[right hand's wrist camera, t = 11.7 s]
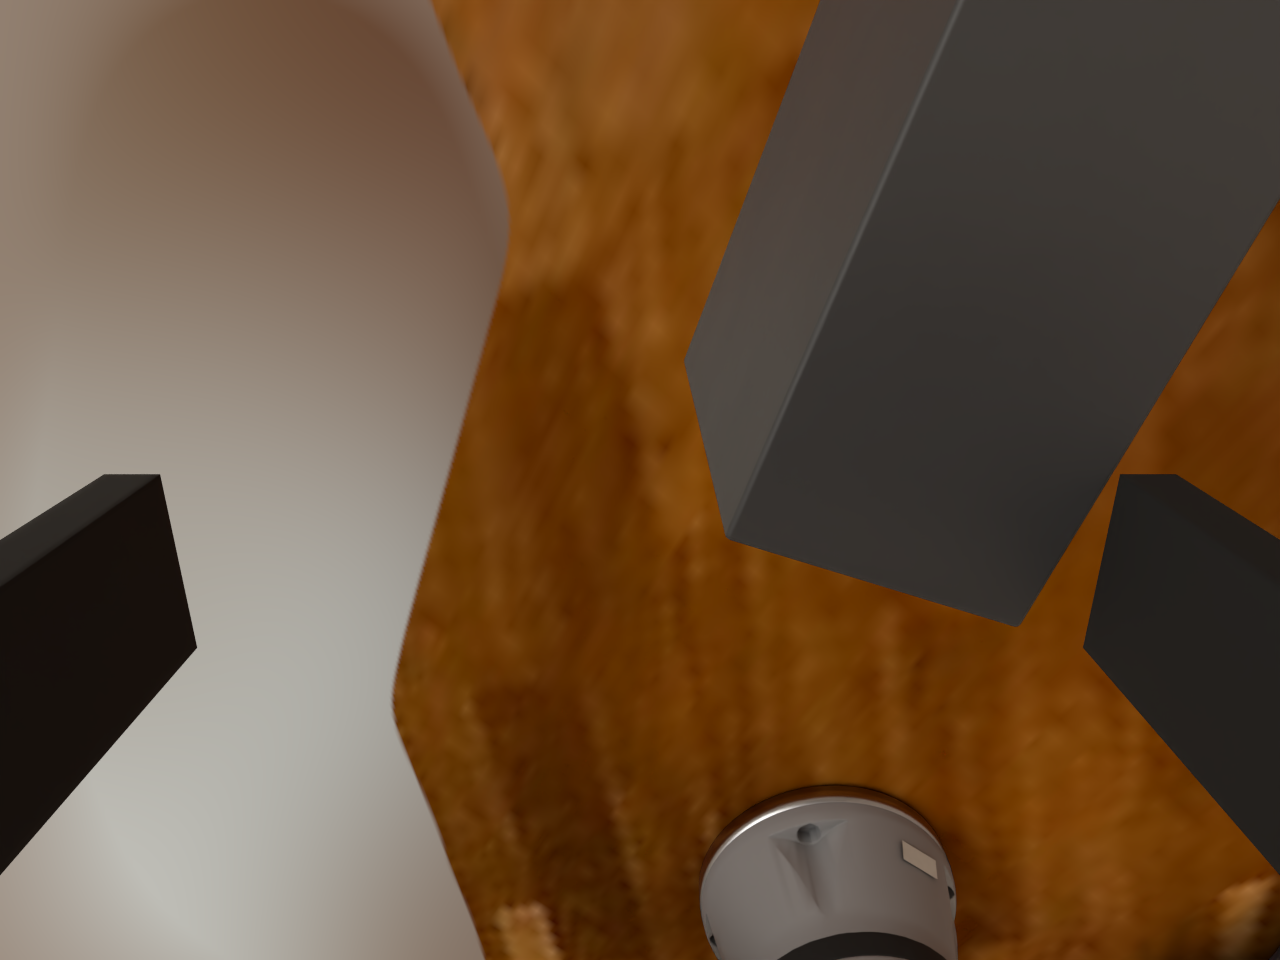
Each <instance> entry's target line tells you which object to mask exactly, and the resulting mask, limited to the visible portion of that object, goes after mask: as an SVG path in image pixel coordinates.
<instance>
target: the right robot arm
mask: <svg viewBox="0 0 1280 960" xmlns="http://www.w3.org/2000/svg"><path fill="white" fill-rule="evenodd" d="M196 648H197V645H196V641H195V636H194V631H193V626H192V622H191V617H190V612H189V608H188V603H187V598H186V594H185V589H184V584H183V580H182V575H181V570H180V566H179V561H178V556H177V552H176V547H175V542H174V538H173V533H172V528H171V524H170V519H169V514H168V510H167V505H166V500H165V495H164V491H163V486H162V481H161V477H160V474H104V475H102V476H101V477H99V478H98V479H96V480H95V481H93V482H91V483H90V484H88V485H87V486H85V487H83V488H82V489H80V490H79V491H77V492H75V493H74V494H72V495H71V496H69V497H68V498H66V499H64V500H63V501H61V502H60V503H58V504H57V505H55V506H53V507H52V508H50V509H49V510H47V511H45V512H44V513H42V514H41V515H39V516H38V517H36V518H34V519H33V520H31V521H30V522H28V523H26V524H25V525H23V526H22V527H20V528H19V529H17V530H15V531H14V532H12V533H11V534H9V535H8V536H6V537H4V538H3V539H1V540H0V875H1V874H2V872H3V871H4V870H5V869H6V868H7V867H8V866H9V864H10V863H11V862H12V861H13V860H14V859H15V857H16V856H17V855H18V854H19V853H20V852H21V851H22V849H23V848H24V847H25V846H26V845H27V844H28V842H29V841H30V840H31V839H32V838H33V837H34V835H35V834H36V833H37V832H38V831H39V830H40V829H41V827H42V826H43V825H44V824H45V823H46V822H47V820H48V819H49V818H50V817H51V816H52V815H53V814H54V812H55V811H56V810H57V809H58V808H59V807H60V805H61V804H62V803H63V802H64V801H65V800H66V799H67V797H68V796H69V795H70V794H71V793H72V792H73V790H74V789H75V788H76V787H77V786H78V785H79V783H80V782H81V781H82V780H83V779H84V778H85V777H86V775H87V774H88V773H89V772H90V771H91V770H92V768H93V767H94V766H95V765H96V764H97V763H98V762H99V760H100V759H101V758H102V757H103V756H104V755H105V753H106V752H107V751H108V750H109V749H110V748H111V747H112V745H113V744H114V743H115V742H116V741H117V740H118V738H119V737H120V736H121V735H122V734H123V733H124V731H125V730H126V729H127V728H128V727H129V726H130V725H131V723H132V722H133V721H134V720H135V719H136V718H137V716H138V715H139V714H140V713H141V712H142V711H143V710H144V708H145V707H146V706H147V705H148V704H149V703H150V701H151V700H152V699H153V698H154V697H155V696H156V694H157V693H158V692H159V691H160V690H161V689H162V688H163V686H164V685H165V684H166V683H167V682H168V681H169V680H170V678H171V677H172V676H173V675H174V674H175V673H176V671H177V670H178V669H179V668H180V667H181V666H182V664H183V663H184V662H185V661H186V660H187V659H188V658H189V656H190V655H191V654H192V653H193V652H194V651H195V649H196ZM1083 648H1084V649H1085V650H1086V651H1087V653H1088V654H1089V655H1090V656H1091V657H1092V658H1093V660H1094V661H1095V662H1096V663H1097V664H1098V665H1099V667H1100V668H1101V669H1102V670H1103V671H1104V672H1105V673H1106V675H1107V676H1108V677H1109V678H1110V679H1111V680H1112V682H1113V683H1114V684H1115V685H1116V686H1117V687H1118V688H1119V690H1120V691H1121V692H1122V693H1123V694H1124V695H1125V697H1126V698H1127V699H1128V700H1129V701H1130V702H1131V704H1132V705H1133V706H1134V707H1135V708H1136V709H1137V710H1138V712H1139V713H1140V714H1141V715H1142V716H1143V717H1144V719H1145V720H1146V721H1147V722H1148V723H1149V724H1150V725H1151V727H1152V728H1153V729H1154V730H1155V731H1156V732H1157V734H1158V735H1159V736H1160V737H1161V738H1162V739H1163V740H1164V742H1165V743H1166V744H1167V745H1168V746H1169V747H1170V749H1171V750H1172V751H1173V752H1174V753H1175V754H1176V756H1177V757H1178V758H1179V759H1180V760H1181V761H1182V762H1183V764H1184V765H1185V766H1186V767H1187V768H1188V769H1189V771H1190V772H1191V773H1192V774H1193V775H1194V776H1195V777H1196V779H1197V780H1198V781H1199V782H1200V783H1201V784H1202V786H1203V787H1204V788H1205V789H1206V790H1207V791H1208V793H1209V794H1210V795H1211V796H1212V797H1213V798H1214V799H1215V801H1216V802H1217V803H1218V804H1219V805H1220V806H1221V808H1222V809H1223V810H1224V811H1225V812H1226V813H1227V814H1228V816H1229V817H1230V818H1231V819H1232V820H1233V821H1234V823H1235V824H1236V825H1237V826H1238V827H1239V828H1240V829H1241V831H1242V832H1243V833H1244V834H1245V835H1246V836H1247V838H1248V839H1249V840H1250V841H1251V842H1252V843H1253V845H1254V846H1255V847H1256V848H1257V849H1258V850H1259V851H1260V853H1261V854H1262V855H1263V856H1264V857H1265V858H1266V860H1267V861H1268V862H1269V863H1270V864H1271V865H1272V866H1273V868H1274V869H1275V870H1276V871H1277V872H1278V873H1279V875H1280V540H1279V539H1278V538H1276V537H1274V536H1273V535H1271V534H1270V533H1268V532H1266V531H1265V530H1263V529H1262V528H1260V527H1259V526H1257V525H1255V524H1254V523H1252V522H1251V521H1249V520H1247V519H1246V518H1244V517H1243V516H1241V515H1240V514H1238V513H1236V512H1235V511H1233V510H1232V509H1230V508H1229V507H1227V506H1225V505H1224V504H1222V503H1221V502H1219V501H1217V500H1216V499H1214V498H1213V497H1211V496H1210V495H1208V494H1206V493H1205V492H1203V491H1202V490H1200V489H1198V488H1197V487H1195V486H1194V485H1192V484H1191V483H1189V482H1187V481H1186V480H1184V479H1183V478H1181V477H1179V476H1178V475H1176V474H1120V478H1119V482H1118V487H1117V492H1116V496H1115V501H1114V506H1113V510H1112V515H1111V520H1110V524H1109V529H1108V534H1107V538H1106V543H1105V548H1104V552H1103V557H1102V562H1101V566H1100V571H1099V576H1098V580H1097V585H1096V590H1095V594H1094V599H1093V604H1092V609H1091V613H1090V618H1089V623H1088V627H1087V632H1086V637H1085V641H1084V646H1083ZM699 898H700V909H701V917H702V921H703V925H704V928H705V932H706V935H707V938H708V941H709V943H710V945H711V948H712V950H713V952H714V953H715V955H716V957H717V958H718V960H958V951H957V936H956V929H955V924H954V919H955V914H956V890H955V884H954V879H953V875H952V871H951V867H950V864H949V861H948V859H947V856H946V854H945V852H944V849H943V847H942V845H941V842H940V840H939V838H938V837H937V835H936V833H935V831H934V830H933V829H932V827H931V826H930V825H929V823H928V822H927V821H926V820H925V819H924V818H923V817H922V816H921V815H919V814H918V813H917V812H916V811H915V810H913V809H912V808H910V807H909V806H908V805H906V804H904V803H903V802H901V801H899V800H897V799H895V798H893V797H890V796H888V795H886V794H883V793H880V792H876V791H873V790H869V789H864V788H859V787H852V786H838V785H830V786H815V787H807V788H802V789H797V790H793V791H789V792H785V793H782V794H779V795H776V796H774V797H771V798H769V799H767V800H764V801H762V802H760V803H758V804H757V805H755V806H753V807H751V808H749V809H748V810H746V811H745V812H743V813H742V814H740V815H739V816H738V817H737V818H735V819H734V820H733V821H732V822H731V823H730V824H729V825H727V826H726V827H725V828H724V829H723V831H722V832H721V833H720V834H719V835H718V836H717V838H716V839H715V841H714V842H713V843H712V845H711V847H710V848H709V850H708V852H707V854H706V856H705V859H704V861H703V864H702V868H701V871H700V877H699Z"/></svg>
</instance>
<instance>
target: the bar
mask: <svg viewBox="0 0 1280 960" xmlns="http://www.w3.org/2000/svg"><path fill="white" fill-rule="evenodd" d="M1279 199H1280V0H820V3H819V6H818V8H817V11H816V14H815V16H814V19H813V21H812V24H811V27H810V29H809V32H808V35H807V37H806V40H805V43H804V45H803V48H802V50H801V53H800V56H799V58H798V61H797V64H796V66H795V69H794V72H793V74H792V77H791V80H790V82H789V85H788V87H787V90H786V93H785V95H784V98H783V101H782V103H781V106H780V109H779V111H778V114H777V117H776V119H775V122H774V124H773V127H772V130H771V132H770V135H769V138H768V140H767V143H766V146H765V148H764V151H763V154H762V156H761V159H760V161H759V164H758V167H757V169H756V172H755V175H754V177H753V180H752V183H751V185H750V188H749V191H748V193H747V196H746V198H745V201H744V204H743V206H742V209H741V212H740V214H739V217H738V220H737V222H736V225H735V228H734V230H733V233H732V235H731V238H730V241H729V243H728V246H727V249H726V251H725V254H724V257H723V259H722V262H721V265H720V267H719V270H718V272H717V275H716V278H715V280H714V283H713V286H712V288H711V291H710V294H709V296H708V299H707V301H706V304H705V307H704V309H703V312H702V315H701V317H700V320H699V323H698V325H697V328H696V331H695V333H694V336H693V338H692V341H691V344H690V346H689V349H688V352H687V354H686V357H685V360H684V362H685V367H686V371H687V375H688V380H689V384H690V388H691V392H692V396H693V401H694V405H695V409H696V413H697V417H698V422H699V426H700V430H701V434H702V438H703V443H704V447H705V451H706V455H707V459H708V464H709V468H710V472H711V476H712V480H713V485H714V489H715V493H716V497H717V502H718V506H719V510H720V514H721V518H722V523H723V527H724V531H725V535H726V537H727V538H728V539H730V540H732V541H736V542H739V543H742V544H746V545H749V546H752V547H755V548H759V549H762V550H765V551H768V552H772V553H775V554H778V555H782V556H785V557H788V558H791V559H795V560H798V561H801V562H805V563H808V564H811V565H814V566H818V567H821V568H824V569H828V570H831V571H834V572H837V573H841V574H844V575H847V576H850V577H854V578H857V579H860V580H864V581H867V582H870V583H873V584H877V585H880V586H883V587H887V588H890V589H893V590H896V591H900V592H903V593H906V594H910V595H913V596H916V597H919V598H923V599H926V600H929V601H932V602H936V603H939V604H942V605H946V606H949V607H952V608H955V609H959V610H962V611H965V612H969V613H972V614H975V615H978V616H982V617H985V618H988V619H992V620H995V621H998V622H1001V623H1005V624H1008V625H1011V626H1014V627H1016V626H1019V625H1020V624H1021V623H1022V621H1023V619H1024V618H1025V616H1026V614H1027V613H1028V611H1029V609H1030V608H1031V606H1032V604H1033V603H1034V601H1035V600H1036V598H1037V596H1038V595H1039V593H1040V591H1041V590H1042V588H1043V586H1044V585H1045V583H1046V582H1047V580H1048V578H1049V577H1050V575H1051V573H1052V572H1053V570H1054V568H1055V567H1056V565H1057V563H1058V562H1059V560H1060V559H1061V557H1062V555H1063V554H1064V552H1065V550H1066V549H1067V547H1068V545H1069V544H1070V542H1071V540H1072V539H1073V537H1074V536H1075V534H1076V532H1077V531H1078V529H1079V527H1080V526H1081V524H1082V522H1083V521H1084V519H1085V517H1086V516H1087V514H1088V513H1089V511H1090V509H1091V508H1092V506H1093V504H1094V503H1095V501H1096V499H1097V498H1098V496H1099V494H1100V493H1101V491H1102V490H1103V488H1104V486H1105V485H1106V483H1107V481H1108V480H1109V478H1110V476H1111V475H1112V473H1113V472H1114V470H1115V468H1116V467H1117V465H1118V463H1119V462H1120V460H1121V458H1122V457H1123V455H1124V453H1125V452H1126V450H1127V449H1128V447H1129V445H1130V444H1131V442H1132V440H1133V439H1134V437H1135V435H1136V434H1137V432H1138V430H1139V429H1140V427H1141V426H1142V424H1143V422H1144V421H1145V419H1146V417H1147V416H1148V414H1149V412H1150V411H1151V409H1152V407H1153V406H1154V404H1155V403H1156V401H1157V399H1158V398H1159V396H1160V394H1161V393H1162V391H1163V389H1164V388H1165V386H1166V384H1167V383H1168V381H1169V380H1170V378H1171V376H1172V375H1173V373H1174V371H1175V370H1176V368H1177V366H1178V365H1179V363H1180V361H1181V360H1182V358H1183V357H1184V355H1185V353H1186V352H1187V350H1188V348H1189V347H1190V345H1191V343H1192V342H1193V340H1194V339H1195V337H1196V335H1197V334H1198V332H1199V330H1200V329H1201V327H1202V325H1203V324H1204V322H1205V320H1206V319H1207V317H1208V316H1209V314H1210V312H1211V311H1212V309H1213V307H1214V306H1215V304H1216V302H1217V301H1218V299H1219V297H1220V296H1221V294H1222V293H1223V291H1224V289H1225V288H1226V286H1227V284H1228V283H1229V281H1230V279H1231V278H1232V276H1233V274H1234V273H1235V271H1236V270H1237V268H1238V266H1239V265H1240V263H1241V261H1242V260H1243V258H1244V256H1245V255H1246V253H1247V251H1248V250H1249V248H1250V247H1251V245H1252V243H1253V242H1254V240H1255V238H1256V237H1257V235H1258V233H1259V232H1260V230H1261V229H1262V227H1263V225H1264V224H1265V222H1266V220H1267V219H1268V217H1269V215H1270V214H1271V212H1272V210H1273V209H1274V207H1275V206H1276V204H1277V202H1278V201H1279Z"/></svg>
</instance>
